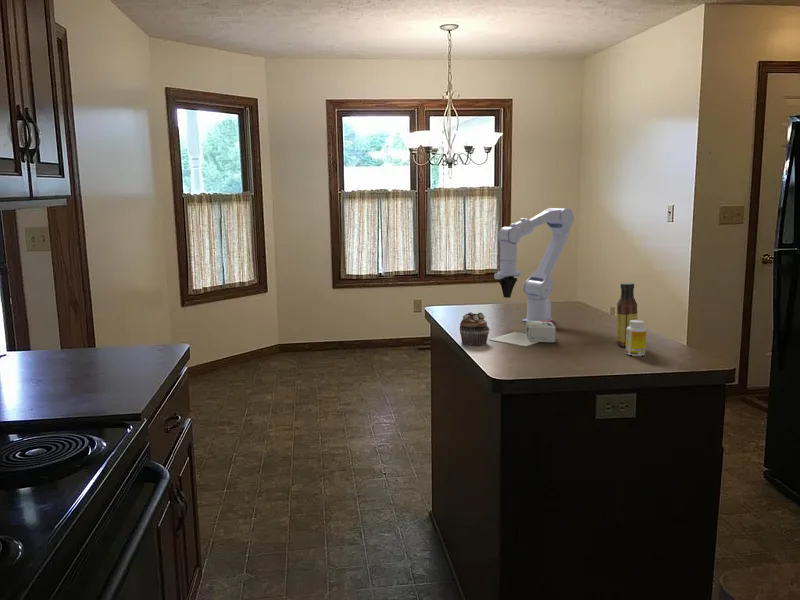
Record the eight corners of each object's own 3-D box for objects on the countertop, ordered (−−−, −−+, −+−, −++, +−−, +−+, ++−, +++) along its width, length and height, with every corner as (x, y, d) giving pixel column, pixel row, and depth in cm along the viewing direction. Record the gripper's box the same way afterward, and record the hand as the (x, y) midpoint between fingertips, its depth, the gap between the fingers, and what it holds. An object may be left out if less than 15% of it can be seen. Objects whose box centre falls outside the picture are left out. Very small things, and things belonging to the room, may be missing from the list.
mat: (515, 332, 225) (515, 331, 225) (551, 338, 216) (551, 337, 216) (488, 340, 213) (488, 339, 213) (525, 346, 204) (525, 345, 204)
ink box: (551, 320, 219) (557, 327, 208) (550, 334, 220) (556, 342, 208) (525, 320, 220) (529, 327, 208) (525, 334, 221) (529, 341, 209)
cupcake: (455, 345, 206) (456, 314, 204) (463, 339, 215) (464, 309, 213) (485, 347, 203) (486, 316, 201) (492, 341, 212) (492, 311, 210)
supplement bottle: (649, 355, 192) (651, 321, 190) (635, 357, 189) (637, 323, 188) (634, 351, 197) (636, 318, 195) (621, 353, 194) (622, 320, 193)
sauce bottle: (637, 344, 206) (641, 282, 203) (636, 348, 201) (639, 284, 198) (616, 342, 209) (619, 281, 206) (613, 346, 204) (617, 283, 200)
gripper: (509, 258, 242) (508, 294, 244) (487, 260, 231) (486, 298, 233) (526, 259, 237) (524, 296, 239) (504, 261, 226) (503, 300, 228)
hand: (507, 297), depth 236 cm, fingers closed
